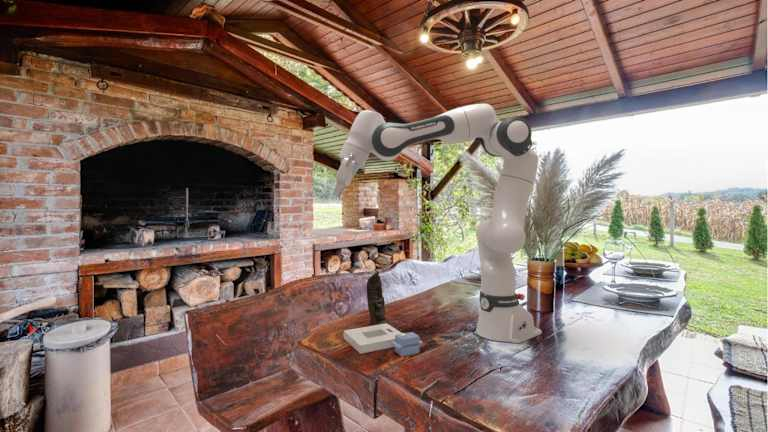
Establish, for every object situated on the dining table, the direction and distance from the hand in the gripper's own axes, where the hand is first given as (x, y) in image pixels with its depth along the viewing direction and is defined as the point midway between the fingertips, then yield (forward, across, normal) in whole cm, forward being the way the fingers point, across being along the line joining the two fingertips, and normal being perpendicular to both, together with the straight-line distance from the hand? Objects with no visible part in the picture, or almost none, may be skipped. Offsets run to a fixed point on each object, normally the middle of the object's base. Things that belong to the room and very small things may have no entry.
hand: (336, 196), depth 116 cm
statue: (+37, +12, -32) cm, 50 cm away
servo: (+34, -13, -38) cm, 53 cm away
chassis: (+38, -4, -30) cm, 48 cm away
